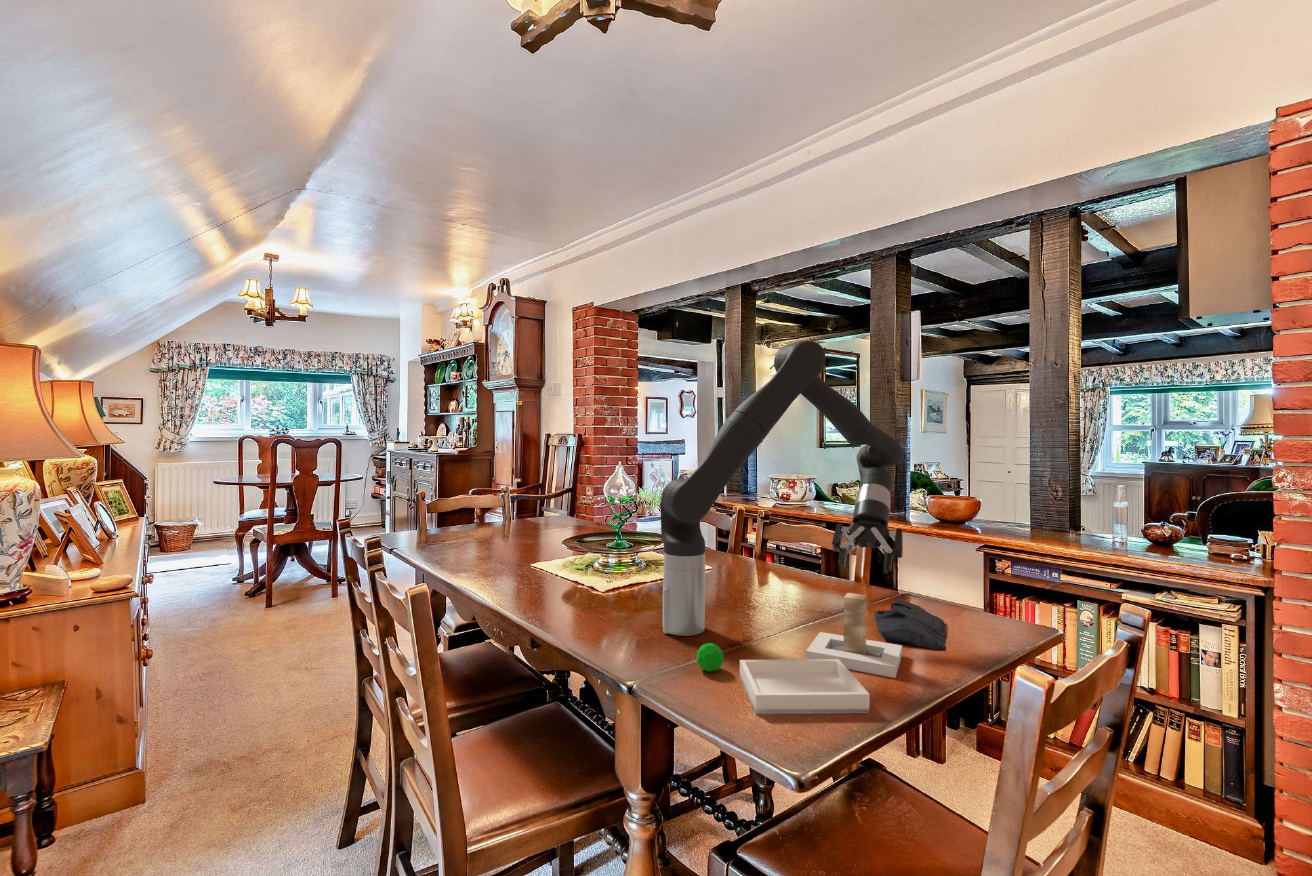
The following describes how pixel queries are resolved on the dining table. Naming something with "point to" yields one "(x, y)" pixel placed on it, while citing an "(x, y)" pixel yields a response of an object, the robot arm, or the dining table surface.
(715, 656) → the polyhedron
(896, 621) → the dark slate chunk
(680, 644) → the dining table surface
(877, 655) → the wooden post on base
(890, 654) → the slot plate
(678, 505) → the robot arm
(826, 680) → the tray
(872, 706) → the dining table surface
